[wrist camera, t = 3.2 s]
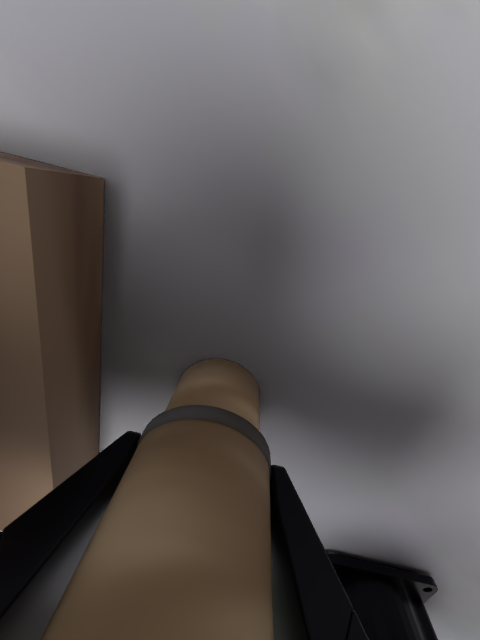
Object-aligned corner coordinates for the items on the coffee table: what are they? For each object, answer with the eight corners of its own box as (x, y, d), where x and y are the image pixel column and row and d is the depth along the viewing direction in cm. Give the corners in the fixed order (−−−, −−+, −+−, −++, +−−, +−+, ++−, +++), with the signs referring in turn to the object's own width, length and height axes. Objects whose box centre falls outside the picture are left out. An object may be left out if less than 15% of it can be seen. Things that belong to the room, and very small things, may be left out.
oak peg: (280, 365, 10) (417, 1543, 1) (254, 439, 12) (230, 1176, 3) (177, 339, 10) (-488, 1432, 1) (164, 418, 12) (-147, 1118, 3)
